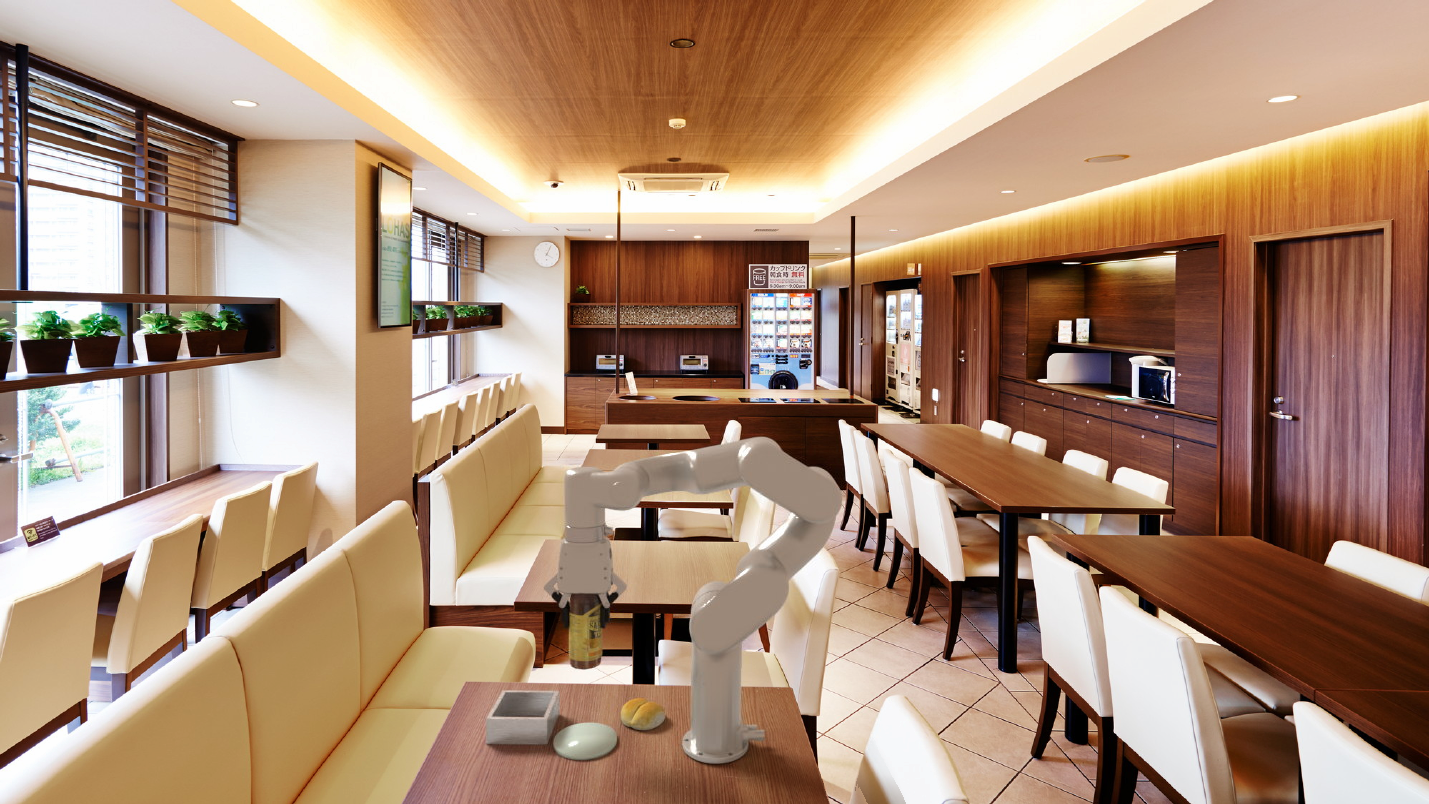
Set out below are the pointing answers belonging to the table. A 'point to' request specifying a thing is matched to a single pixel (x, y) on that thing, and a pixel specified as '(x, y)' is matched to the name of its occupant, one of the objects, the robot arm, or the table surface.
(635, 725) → the bread roll
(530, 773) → the table surface
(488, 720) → the square storage bin
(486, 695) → the table surface
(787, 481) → the robot arm
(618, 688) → the table surface
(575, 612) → the sauce bottle
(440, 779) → the table surface
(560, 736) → the saucer
